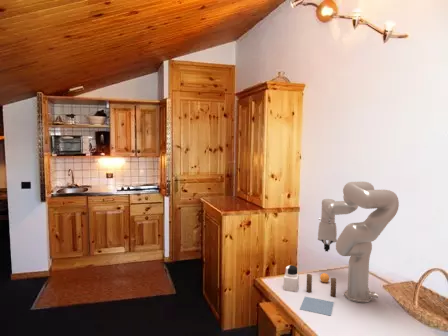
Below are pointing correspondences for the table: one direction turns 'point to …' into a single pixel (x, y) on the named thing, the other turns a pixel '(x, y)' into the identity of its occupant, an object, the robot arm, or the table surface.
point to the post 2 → (333, 287)
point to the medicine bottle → (291, 279)
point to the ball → (324, 277)
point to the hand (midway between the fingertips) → (326, 250)
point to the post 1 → (309, 283)
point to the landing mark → (317, 306)
